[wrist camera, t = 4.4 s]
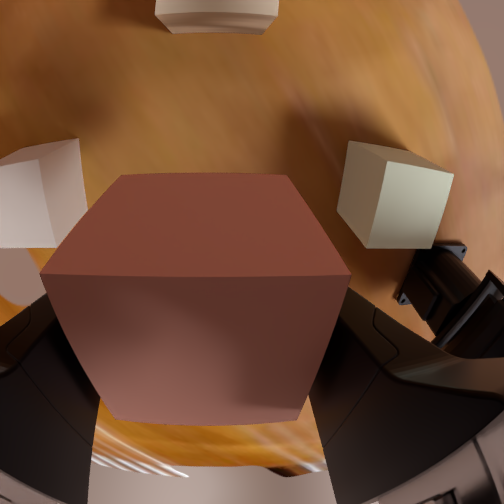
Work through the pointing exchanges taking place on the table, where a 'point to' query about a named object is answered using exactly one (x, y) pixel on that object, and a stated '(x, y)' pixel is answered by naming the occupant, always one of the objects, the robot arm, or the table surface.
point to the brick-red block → (199, 297)
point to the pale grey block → (41, 194)
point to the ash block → (217, 15)
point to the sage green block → (392, 196)
